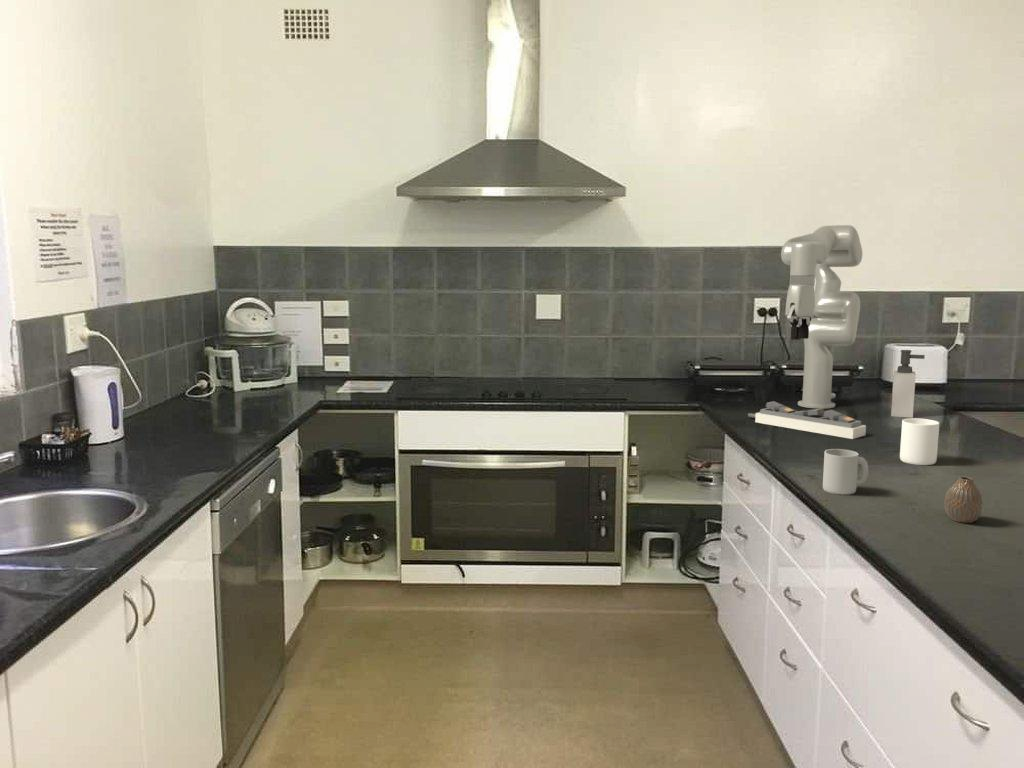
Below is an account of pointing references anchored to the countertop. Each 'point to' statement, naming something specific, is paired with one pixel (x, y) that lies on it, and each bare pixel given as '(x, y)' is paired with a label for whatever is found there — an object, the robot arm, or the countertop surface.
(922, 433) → the mug
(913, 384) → the soap dispenser
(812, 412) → the rocker
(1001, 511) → the countertop surface
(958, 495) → the vase
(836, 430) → the power strip
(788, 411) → the rocker
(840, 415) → the rocker
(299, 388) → the countertop surface
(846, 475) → the cup
